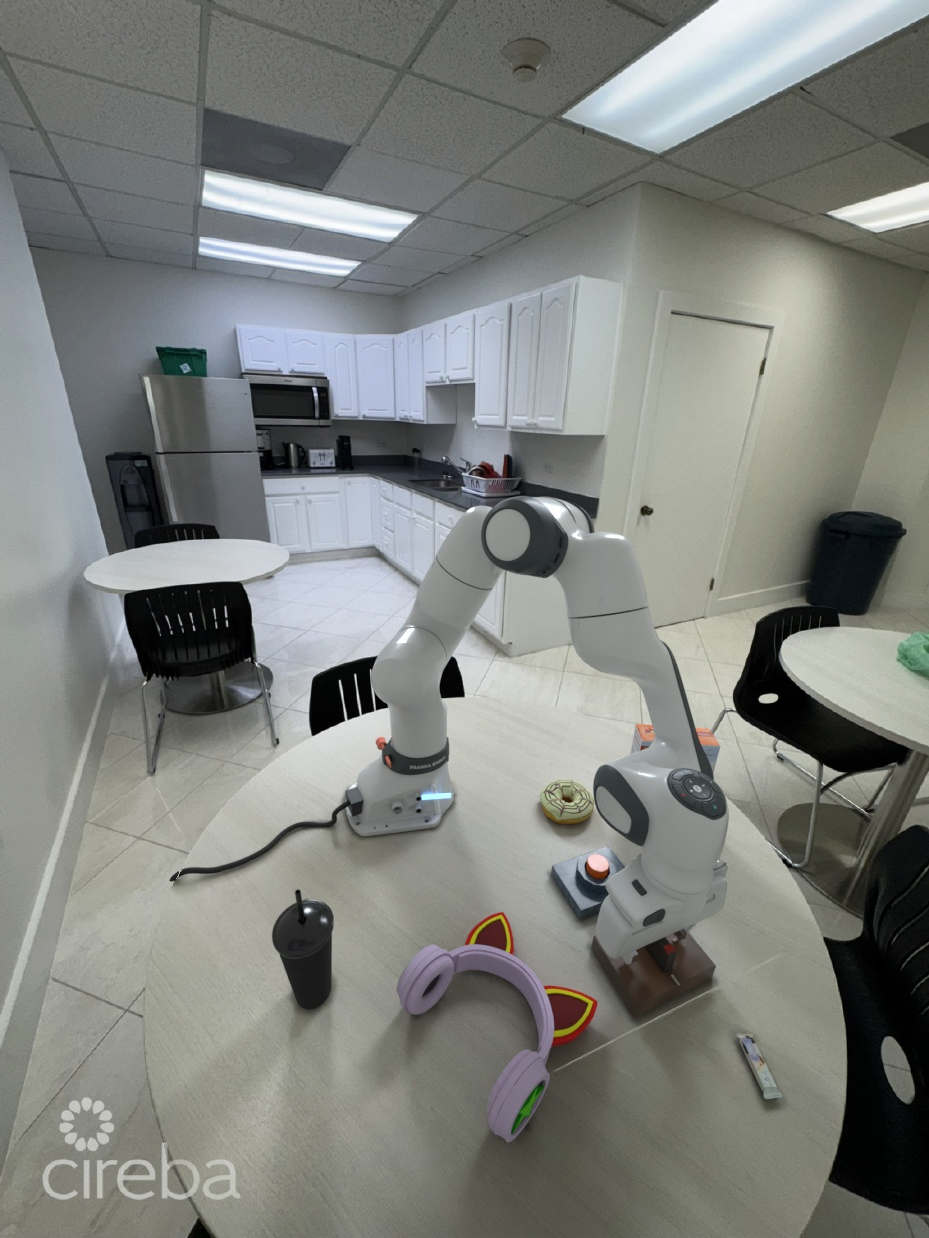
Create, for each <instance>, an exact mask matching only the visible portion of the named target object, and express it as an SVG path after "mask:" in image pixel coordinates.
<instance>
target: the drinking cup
mask: <svg viewBox="0 0 929 1238" xmlns="http://www.w3.org/2000/svg"><path fill="white" fill-rule="evenodd" d="M294 895H295V902H294V903H293V904H291V905H289V906H288V907H286V908H285V909H284V910H283V911H282V912H281V913H280V914H279V915H278V917H277V919H276V920H275V923H274V925H273V927H272V932H271V940H272V945H273V948H275V951H276V952H277V953H278V955H279V957H280V961H281V963H282V966H283V968H284V970H285V973H286V977H287V979H288V982H289V985H290V987H291V990H292V993H293V996H294V998H295V1001H296V1003H297V1005H298V1006H299V1007H300V1008H302V1009H304V1010H308V1011H310V1010H315V1009H317V1008H319V1007H321V1006H323V1004H324V1003H325V1002H326V1001H328V998H329V996H330V995H331V991H332V973H333V971H332V965H333V964H332V963H333V962H332V961H333V957H332V956H333V931H334V926H335V918H334V917H335V916H334V913H333V911H332V909H331V907H330V906H329V905H328V904H327V903H326V902H325V901H322V900H320V899H316V898H315V899H314V898H306V899H303V897H302V891H301V889H300V888H298V889H296V890H295V891H294Z"/></svg>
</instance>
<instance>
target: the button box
mask: <svg viewBox="0 0 929 1238" xmlns="http://www.w3.org/2000/svg"><path fill="white" fill-rule="evenodd" d="M592 854H599V855H602V856H604V857H605V858H606V859H607V860H608V863H609V869H608V874H607V876H606V877H605V878H603V879H596V878H594V877H592V876H591V875H589V873H588V872H587V870H586V865H587V859H588V857H589V856H590V855H592ZM625 867H626V866H625V865H624V863H623V862H622V861H621V860H620V858H619V857H618V856H617V855H616V854H615V852H614V851H613V850H612V849H611V847H610V846H609V845H607V846H604V847H601V848H599V849H596V850H593V851H589V852H587V853H585V854H581V855H579V856H575V857H573V858H570V859H566V860H564V861H562V862H561V861H560V862H559V863H555V864H553V865H551V869H550V875H551V877H552V878H553V880H554V882H555V883H556V885H557V886H558V888H559V890H560V892H561V893H562V894H563V896H564V897H565V899H566V900H567V902H568V903H569V905H570V906H571V908H572V910H573V911H574V913H575V915H576V916H577V918H578V920H583V919H585V918H588V917H589V916H592V915H594V914H597V913H599V912H600V909H601V906H602V903H603V901H604V900H605V898H606V897H607V896H608V895H609V893H608V891H607V889H606V882H607V880H608V879H609V878H610V877H612V876H613V875H615V874H616V873H618V872H619V871H621V870H622V869H624V868H625Z"/></svg>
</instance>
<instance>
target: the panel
mask: <svg viewBox="0 0 929 1238" xmlns="http://www.w3.org/2000/svg"><path fill="white" fill-rule="evenodd" d="M666 939H667V940H668V941H669V942H670V944H671V945H672V946H673V947H674V949H675V950H676V952H677V954H676V958H675V961H674V964H673V968H671V969H669V970H667V971H665V972H663V971H662V969H661V968H660V966H659V965H658V964H657V962H656V961H655V960H654V958H653V957H652V955H651V954H650V953H649V951H648V950H647V948H646V947H645V946H644V947H642V948H639V949H637V950H636V952H637V953H638V957H637V961H635V962H633V963H631V964H629V965H628V964H626V962H625V961H624V959H623V958H622V957H619V958H617V959H613V958H611V957H610V956H609V955H608V954H607V953H606V952H605V950H604V949H603V947H602V946H601V944H600V942H599V941H598V939H597V936H596V934H594V935H593V936H592V942H591V947H590V949H591V950H592V953H593V954H594V956H595V958H596V959H597V961H598V963H600V965H601V967H602V968H603V970H604V972H605V973H606V975H607V977H608V979H609V980H610V981H611V983H612V985H613V986H614V988H615V990H616V991H617V993H618V995H619V996H620V998H621V999H622V1001H623V1003H624V1004H625V1006H626V1007H627V1009H628V1010H629V1012H630V1014H631V1016H632V1017H633V1018H637V1017H639V1016H642V1015H643V1014H645V1013H647V1012H649V1011H651V1010H653V1009H655V1008H657V1007H659V1006H661V1005H663V1004H665V1003H668V1002H669V1001H671V1000H672V999H675V998H677V997H679V996H681V995H683V994H684V993H686V992H688V991H690V990H692V989H694V988H696V987H698V986H701V985H702V984H704V983H706V982H708V981H710V980H712V979H713V975H714V974H715V971H716V968H717V965H716V964H715V963H714V961H713V960H712V959H711V958H710V956H709V955H708V954H707V953H706V952H705V950H704V949H703V948H702V946H700V944H699V943H698V941H697V940H696V939H695V938H694V937H693V936H692V935H691V933H689V936H688V938H686V939H683V940H681V941H679V940H678V939H677V936H675V935H674V934H671V935H668V936H666Z"/></svg>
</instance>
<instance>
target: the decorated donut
mask: <svg viewBox="0 0 929 1238" xmlns="http://www.w3.org/2000/svg"><path fill="white" fill-rule="evenodd" d="M539 799H540V805H541V809H542V811H543V814H544V815H545V817H546V818H548V819H549V820H551V821H553V822H555V823H557V824H562V825H574V824H581V823H582V822H585V821H586V820H587V819H588V818H590V817H591V816H592V813H593V811H594V806H595V801H594V796H593V794H592V793H591V792H590V791H589V790H588V789H587V788H586V787H585V785H583V784H581V783H580V782H578V781H575V780H572V779H561V778H559V779H556V780H554V781H550V782H549V783H548V784H547V785H545V787H544V788H543V789H541V791H540V792H539Z"/></svg>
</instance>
